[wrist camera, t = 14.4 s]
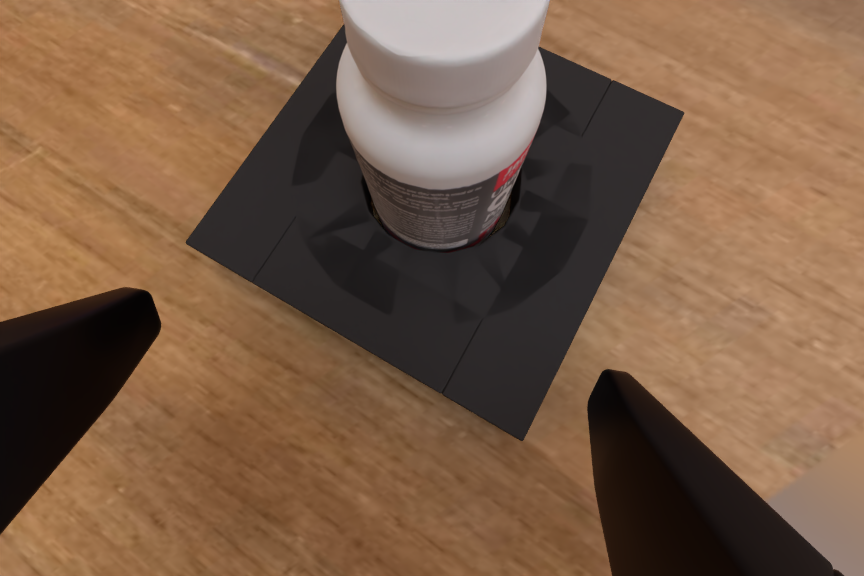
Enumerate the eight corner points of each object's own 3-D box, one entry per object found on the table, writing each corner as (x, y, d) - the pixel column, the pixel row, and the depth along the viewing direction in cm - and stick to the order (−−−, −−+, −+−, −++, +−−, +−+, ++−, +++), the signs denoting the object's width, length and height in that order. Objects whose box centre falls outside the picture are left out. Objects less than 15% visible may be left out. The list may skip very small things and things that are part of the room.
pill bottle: (504, 261, 16) (608, 96, 6) (375, 262, 16) (282, 102, 6) (499, 144, 17) (579, -148, 7) (378, 145, 17) (302, -142, 7)
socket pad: (656, 141, 17) (685, 111, 15) (511, 432, 14) (523, 442, 12) (385, 15, 18) (379, -27, 16) (214, 257, 16) (183, 242, 14)
